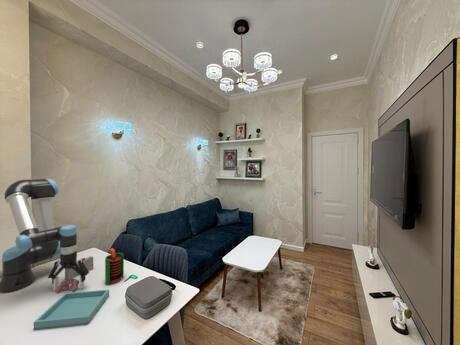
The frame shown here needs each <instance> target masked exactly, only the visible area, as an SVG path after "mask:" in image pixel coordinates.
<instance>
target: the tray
mask: <svg viewBox="0 0 460 345" xmlns="http://www.w3.org/2000/svg"><path fill="white" fill-rule="evenodd" d="M109 296H110V289H109V288H107V289H99V290H98V289H97V290H96V289H95V290H87V291H86V290H84V291H74V292H71V291H70V292H64V294H62V296H61V297H60V298H58V299H57V300H56V301H55V302H54V303H53V304H52V305H50V306H49V308H47V309H46V310H45V311H44V312H43V313H42V314H41V315H40V316H39V317H37V319H35V320H34V321H33V331H36V330H45V329H56V328H66V327H77V326H85V325H89V324H90V322H91V321H92V320H93V319H94V317H95V316H96V314H97V313H98V312H99V310H100V309H101V307H102V306H103V305H104V303H105V302H106V301H107V300H108V298H109Z"/></svg>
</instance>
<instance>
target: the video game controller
mask: <svg viewBox="0 0 460 345" xmlns="http://www.w3.org/2000/svg"><path fill="white" fill-rule="evenodd" d="M78 286H80V279H75V278H73V279H67V280H65V279H63V281H62V282H61V283H60V284H59V287H58V288H57V289H56V290H55V291H56V292H55V293H56V294H58V293H60V292H61V291H62V290H64V291H67V290H70V293H71V292H76V290H77V288H78Z"/></svg>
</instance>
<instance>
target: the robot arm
mask: <svg viewBox="0 0 460 345" xmlns="http://www.w3.org/2000/svg"><path fill="white" fill-rule="evenodd" d="M58 193H59V187H58V184H57V182H56V181H55V180H54V179H53V178H40V179H39V178H38V179H37V178H36V179H35V178H34V179H20V180H17V181H14V182H13V183H11V184H10V185H9V186H8V187H7V188H6V190H5V192H4V200H5V203H7V204H8V205H9V207H10V209H11V213H12V215H13V216H12V217H13V219H14V222H15V225H16V229H17V231H18V234H19V235H18V236H16V238H15V241H14V242H15V246H13V247H10V248H8V249H6V250H5V251H4V252H2V258H1V262H2V263H1V265H2V268H1V269H2V272H1V273H2V274H1V276H2V277H1V279H0V292H8V293H12V292H15V291H19V290H22V289H24V288H26V287H28V286H31V285H32V284H33V283H34V282H35V281H36V276H35V274H34V272H33V270H32V265H34V264H36V263H40V262H42V261H46V260H49V259H50V260H51V259H52V258H55V257H58V256H59V259H58V260H56V261H55V262H54V263H53V267H52V269H51V271H50V272H49V274H48V276H47V279H51V283H52V284H51V285H53V291H57V289H58V287H59V286H60V284H59V282H60V281H59V276H58V275H59V274H60V273H62V271H63V270H65V269H71V268H72V269H74V270H75V271H76V272H77V273H78V274H79V275H80V276H78V277H79V289H82V288H83V287H84V286H85V281H86V276H87V275H88V274H90V271H88V270H87V268H86V266H85V265H84V263H83V259H82V258H80V259H77V256H78V252H77V250H78V243H77V240H78V238H77V237H78V236H77V235H78V234H77V233H78V230H77V226H76V224H75V225H74V224H68V225H67V224H66V225H64V226H62V225H56V226H55V224H54V222H55V221H54V208H53V200H54V199H55V196H57V195H58ZM29 198H30V200H31V201H32V202H34V213H33V211H32V208H31V205H30V203H29V201H28V199H29ZM34 214H35V215H34ZM34 216H35V217H34ZM78 265H79V266H78ZM59 266H60V267H59ZM74 266H75V267H74ZM58 268H59V269H58ZM57 269H58V270H57Z"/></svg>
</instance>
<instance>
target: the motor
mask: <svg viewBox="0 0 460 345" xmlns="http://www.w3.org/2000/svg"><path fill="white" fill-rule="evenodd" d="M124 256H125V255H124V253H123V252H116V250H115V249H114V248H110V249H108V255H107V256H106V257H105V261H104V265H105V266H104V268H105V269H104V272H105V275H104V280H105V282H104V284H105V285H106V286H110V285H115V284H118V283H120V282H122V279H123V277H124V275H125V274H124V272H125V270H124V268H125V267H124V266H125V265H124V264H125V262H124V261H125V258H124Z"/></svg>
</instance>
